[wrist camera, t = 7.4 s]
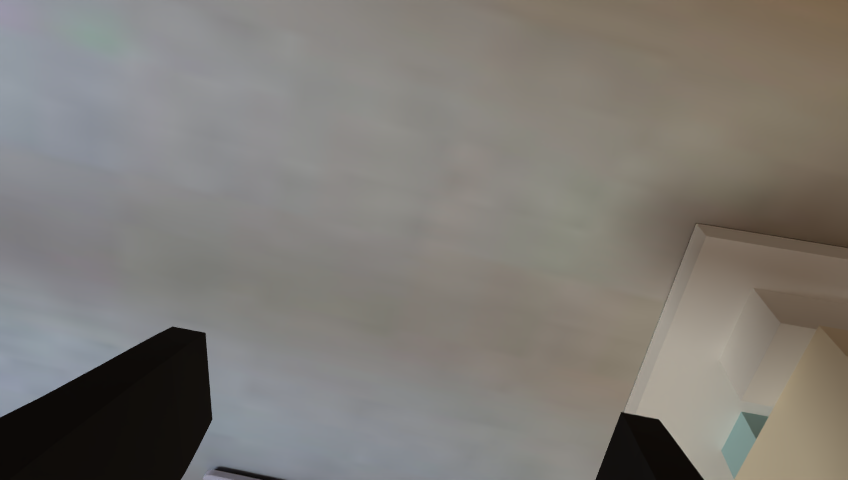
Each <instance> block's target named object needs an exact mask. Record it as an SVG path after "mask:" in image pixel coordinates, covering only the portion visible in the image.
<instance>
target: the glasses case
mask: <svg viewBox="0 0 848 480" xmlns="http://www.w3.org/2000/svg"><path fill="white" fill-rule="evenodd" d="M734 480H848V330H843V329H837V328H831V327H826V326H820V325H819V326H818V328H817V330H816V332H815V334H814V335H813V337H812V339H811V341H810V343H809V344H808V346H807V348H806V350H805V352H804V354H803V355H802V357H801V359H800V361H799V363H798V364H797V366H796V368H795V370H794V372H793V373H792V375H791V377H790V379H789V381H788V383H787V384H786V386H785V388H784V390H783V392H782V393H781V395H780V397H779V399H778V401H777V403H776V404H775V406H774V408H773V410H772V412H771V413H770V415H769V417H768V419H767V421H766V423H765V424H764V426H763V428H762V430H761V432H760V433H759V435H758V437H757V439H756V441H755V442H754V444H753V446H752V448H751V450H750V452H749V453H748V455H747V457H746V459H745V461H744V462H743V464H742V466H741V468H740V470H739V472H738V473H737V475H736V477H735V479H734Z"/></svg>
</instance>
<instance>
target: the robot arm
mask: <svg viewBox="0 0 848 480" xmlns="http://www.w3.org/2000/svg"><path fill="white" fill-rule="evenodd" d="M211 421H212V410H211V398H210V385H209V372H208V359H207V347H206V334H205V333H203V332H198V331H193V330H188V329H182V328H177V327H171V328H169V329H167V330H165V331H163V332H161V333H159V334H157V335H155V336H153V337H151V338H149V339H147V340H146V341H144V342H142V343H140V344H138V345H136V346H134V347H133V348H131V349H129V350H127V351H125V352H124V353H122V354H120V355H118V356H116V357H114V358H113V359H111V360H109V361H107V362H105V363H104V364H102V365H100V366H98V367H96V368H94V369H93V370H91V371H89V372H87V373H85V374H83V375H81V376H80V377H78V378H76V379H74V380H72V381H70V382H68V383H67V384H65V385H63V386H61V387H59V388H57V389H56V390H54V391H52V392H50V393H48V394H46V395H44V396H42V397H40V398H39V399H37V400H35V401H33V402H31V403H28V404H26V405H24V406H22V407H20V408H18V409H16V410H14V411H12V412H10V413H8V414H6V415H4V416H2V417H0V480H181V478H182V477H183V475H184V474H185V472H186V470H187V468H188V466H189V464H190V462H191V461H192V459H193V457H194V455H195V453H196V451H197V449H198V447H199V445H200V443H201V441H202V439H203V437H204V435H205V433H206V431H207V429H208V427H209V425H210V423H211ZM203 480H261V479H256V478H251V477H247V476H242V475H237V474H232V473H228V472H223V471H218V470H209V471H207V472H206V474H205V475H204V477H203ZM596 480H704V479H703V478H702V476H701V475H700V474H699V472H698V471H697V469H696V468H695V467H694V465H693V464H692V463H691V461H690V460H689V459H688V457H687V456H686V455H685V453H684V452H683V451H682V449H681V448H680V446H679V445H678V444H677V442H676V441H675V440H674V438H673V437H672V436H671V434H670V433H669V432H668V430H667V429H666V428H665V426H664V425H663V424H662V423H661V421H660V420H659V419H655V418H650V417H644V416H639V415H634V414H629V413H623V412H621V414H620V417H619V420H618V422H617V425H616V427H615V430H614V433H613V435H612V438H611V441H610V443H609V446H608V448H607V451H606V454H605V456H604V459H603V462H602V464H601V467H600V469H599V472H598V475H597V477H596Z"/></svg>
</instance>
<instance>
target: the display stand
mask: <svg viewBox="0 0 848 480" xmlns="http://www.w3.org/2000/svg"><path fill="white" fill-rule="evenodd" d="M819 325H820V326H826V327H831V328H837V329H843V330H848V248H844V247H838V246H832V245H826V244H820V243H814V242H807V241H801V240H795V239H789V238H783V237H777V236H771V235H765V234H758V233H752V232H746V231H740V230H734V229H728V228H722V227H716V226H710V225H703V224H697V223H696V226H695V228H694V231H693V233H692V236H691V239H690V241H689V244H688V246H687V249H686V252H685V254H684V257H683V259H682V262H681V265H680V267H679V270H678V272H677V275H676V278H675V280H674V283H673V285H672V288H671V291H670V293H669V296H668V299H667V301H666V304H665V306H664V309H663V312H662V314H661V317H660V319H659V322H658V325H657V327H656V330H655V332H654V335H653V338H652V340H651V343H650V345H649V348H648V351H647V353H646V356H645V358H644V361H643V364H642V366H641V369H640V371H639V374H638V377H637V379H636V382H635V384H634V387H633V390H632V392H631V395H630V398H629V400H628V403H627V405H626V408H625V411H624V413H629V414H634V415H639V416H644V417H650V418H655V419H659V420H660V421H661V423H662V424H663V425H664V426H665V428H666V429H667V430H668V432H669V433H670V434H671V436H672V437H673V438H674V440H675V441H676V442H677V444H678V445H679V446H680V448H681V449H682V451H683V452H684V453H685V455H686V456H687V457H688V459H689V460H690V461H691V463H692V464H693V465H694V467H695V468H696V469H697V471H698V472H699V474H700V475H701V476H702V478H703V479H704V480H734V479H735V477H736V475H737V473H738V472H739V470H740V468H741V466H742V464H743V462H744V461H745V459H746V457H747V455H748V453H749V452H750V450H751V448H752V446H753V444H754V442H755V441H756V439H757V437H758V435H759V433H760V432H761V430H762V428H763V426H764V424H765V423H766V421H767V419H768V417H769V415H770V413H771V412H772V410H773V408H774V406H775V404H776V403H777V401H778V399H779V397H780V395H781V393H782V392H783V390H784V388H785V386H786V384H787V383H788V381H789V379H790V377H791V375H792V373H793V372H794V370H795V368H796V366H797V364H798V363H799V361H800V359H801V357H802V355H803V354H804V352H805V350H806V348H807V346H808V344H809V343H810V341H811V339H812V337H813V335H814V334H815V332H816V330H817V328H818V326H819Z"/></svg>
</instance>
